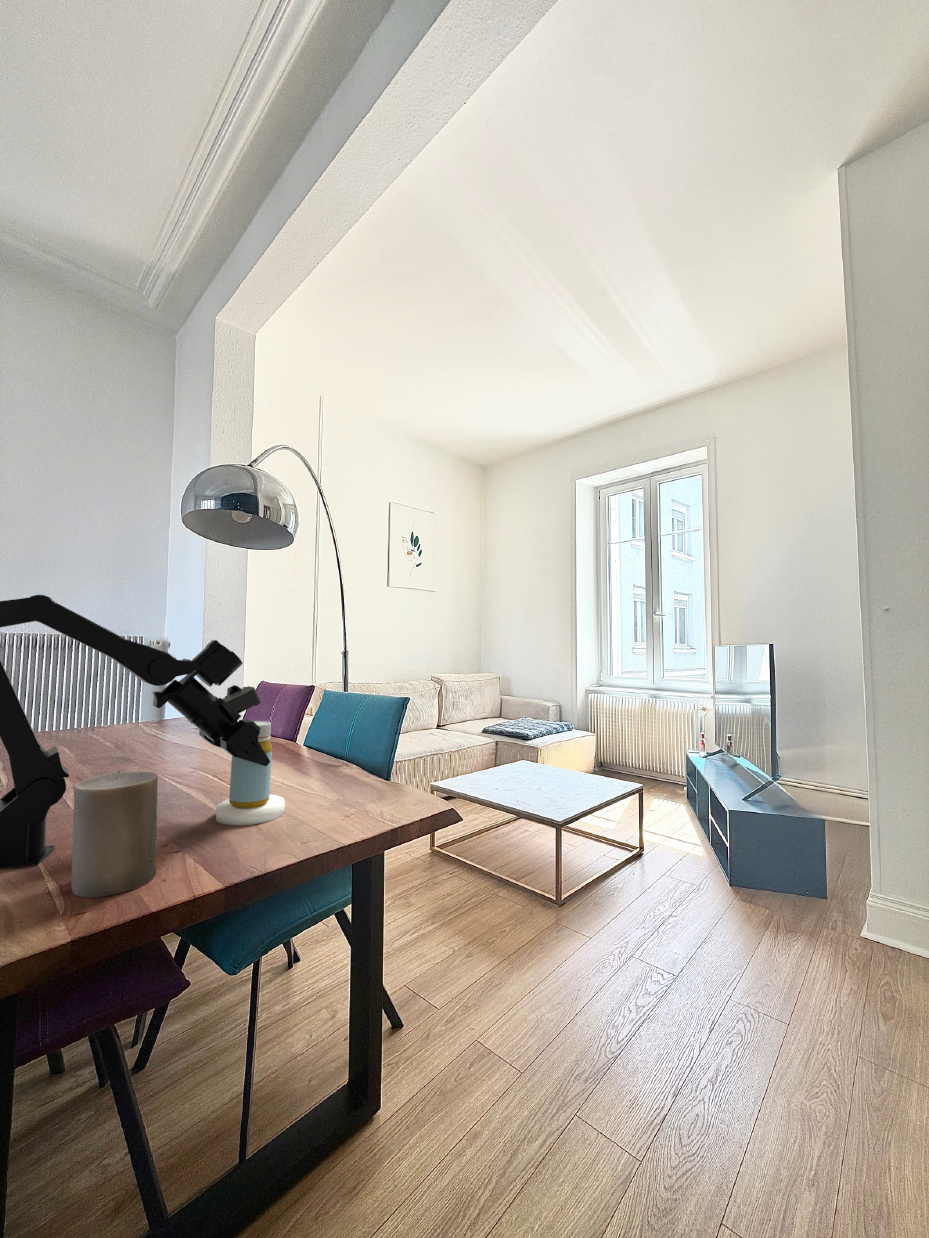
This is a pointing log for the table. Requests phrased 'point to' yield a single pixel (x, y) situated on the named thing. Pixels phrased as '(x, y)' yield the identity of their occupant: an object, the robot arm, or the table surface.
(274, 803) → the round base
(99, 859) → the pillar candle
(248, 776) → the bottle
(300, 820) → the table surface
